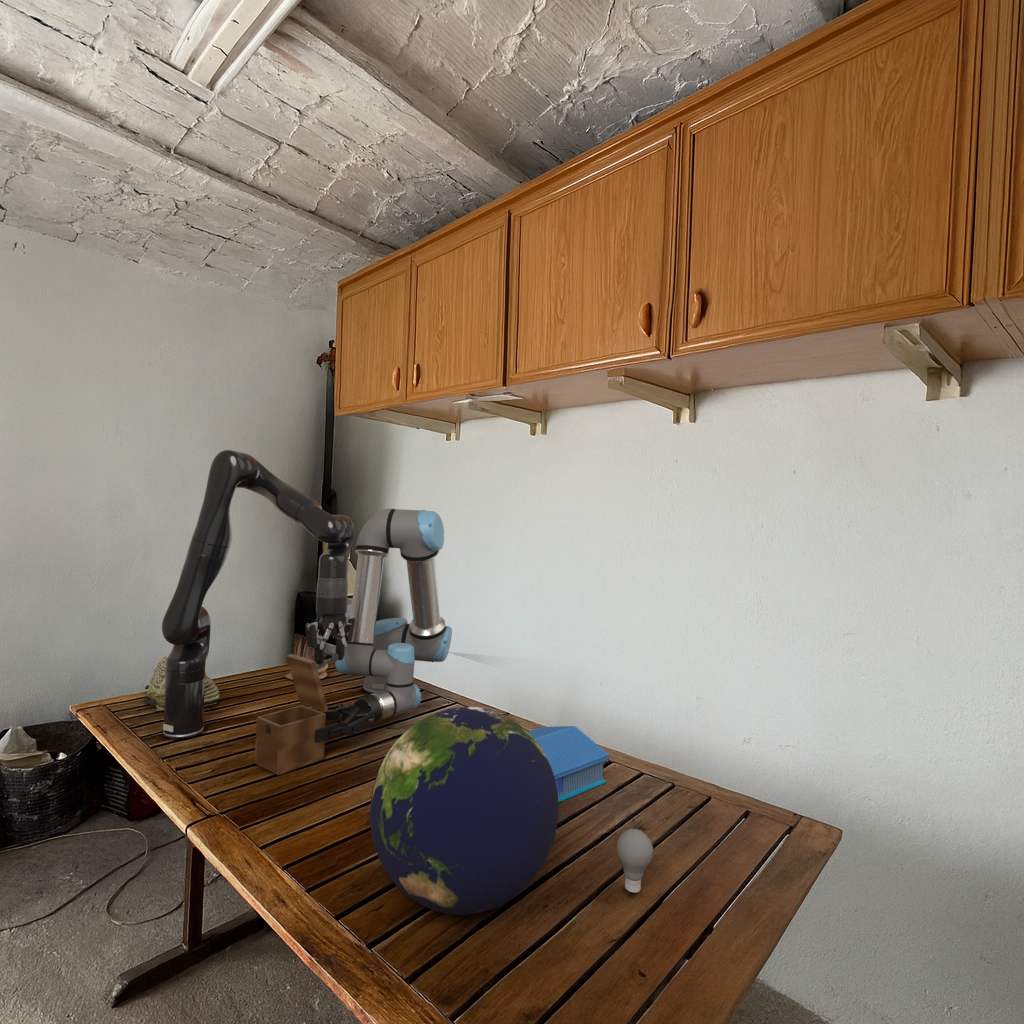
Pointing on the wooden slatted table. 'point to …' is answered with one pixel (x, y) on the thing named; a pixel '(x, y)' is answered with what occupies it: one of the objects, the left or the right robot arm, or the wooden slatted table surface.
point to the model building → (571, 759)
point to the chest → (289, 739)
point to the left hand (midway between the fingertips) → (329, 661)
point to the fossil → (158, 687)
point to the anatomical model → (320, 671)
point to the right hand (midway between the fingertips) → (302, 730)
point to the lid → (309, 679)
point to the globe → (464, 810)
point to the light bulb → (634, 857)
